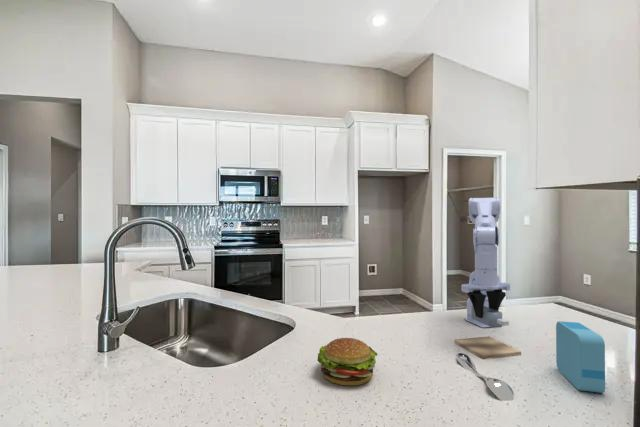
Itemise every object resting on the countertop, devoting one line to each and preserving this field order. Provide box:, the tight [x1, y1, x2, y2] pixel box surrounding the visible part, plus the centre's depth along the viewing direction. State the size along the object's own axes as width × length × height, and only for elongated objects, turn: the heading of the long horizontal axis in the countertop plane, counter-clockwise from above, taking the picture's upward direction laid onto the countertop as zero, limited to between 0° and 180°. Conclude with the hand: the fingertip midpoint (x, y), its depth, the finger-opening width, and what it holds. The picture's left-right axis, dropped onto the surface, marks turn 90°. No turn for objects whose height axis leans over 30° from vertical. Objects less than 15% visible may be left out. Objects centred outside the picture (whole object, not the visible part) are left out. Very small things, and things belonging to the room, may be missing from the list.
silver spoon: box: [456, 352, 515, 402], centre depth 77 cm, size 20×4×5 cm
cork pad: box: [453, 336, 522, 360], centre depth 94 cm, size 12×12×1 cm
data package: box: [555, 320, 606, 394], centre depth 75 cm, size 12×4×12 cm, turn 165°
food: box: [316, 337, 378, 386], centre depth 79 cm, size 14×14×8 cm
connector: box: [471, 305, 510, 328], centre depth 93 cm, size 12×4×4 cm, turn 13°
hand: (486, 316), depth 94 cm, fingers closed on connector, 4 cm apart
